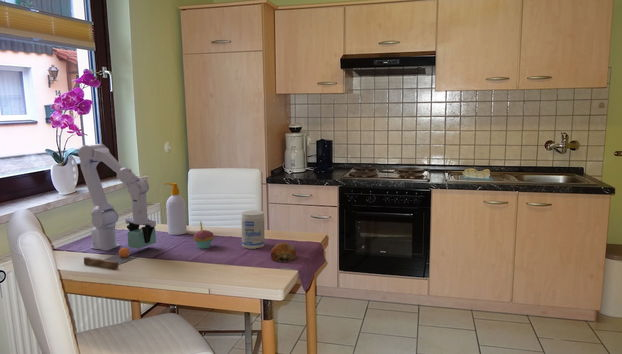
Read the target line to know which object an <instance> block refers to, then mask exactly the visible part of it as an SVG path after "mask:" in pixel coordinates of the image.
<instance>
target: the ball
mask: <svg viewBox="0 0 622 354" xmlns="http://www.w3.org/2000/svg"><path fill="white" fill-rule="evenodd" d="M118 250H119V251H118V254H119V256H120V257H122V258H125V257H127V256H130V250H129V247H121V248H120V249H118Z"/></svg>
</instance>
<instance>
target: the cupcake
mask: <svg viewBox="0 0 622 354" xmlns="http://www.w3.org/2000/svg"><path fill="white" fill-rule="evenodd" d="M199 225H200V230H199V231H197V232H195V233H194V234H193V240H194V241H195V243H196V245H197V248H199V249H208V248H211V243H212V241H213V240H214V238H215V236H214V233H213V232H212V231H210V230H206V229H204V230H203V222H202V220H200V222H199Z"/></svg>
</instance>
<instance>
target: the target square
mask: <svg viewBox="0 0 622 354" xmlns="http://www.w3.org/2000/svg"><path fill="white" fill-rule="evenodd" d="M137 258H138V257H136V256H134V255H133V256H131V255H128V256H127V257H125V258H122V257H120V256H119V253H118V254H115V255H112V256H109V257H107V258H104V259H103V260H109V261H115V262H118V266H119V264H120V265H122V264H124V263H126V262H129V260H130V261H132V260H135V259H137Z"/></svg>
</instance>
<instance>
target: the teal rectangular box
mask: <svg viewBox="0 0 622 354" xmlns="http://www.w3.org/2000/svg"><path fill="white" fill-rule="evenodd" d="M156 235H157V234H156V228H154V229H153V232H152V234H151V238H150V242H149V243H145V241H144V234H143V231H142V229H141V227H139V229H137V230H133V231H127V245H128V246H127V248H133V249H138V250H139V249H141V248H144V247H148V246H150V245H154V244H156V243H157V237H156Z"/></svg>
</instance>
